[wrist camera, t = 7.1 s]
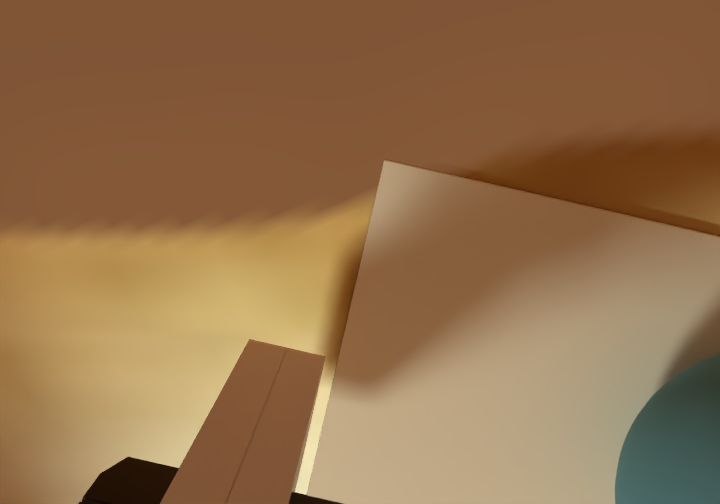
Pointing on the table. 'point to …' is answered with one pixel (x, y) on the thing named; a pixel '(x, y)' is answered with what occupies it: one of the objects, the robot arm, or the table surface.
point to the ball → (675, 443)
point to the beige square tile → (506, 344)
